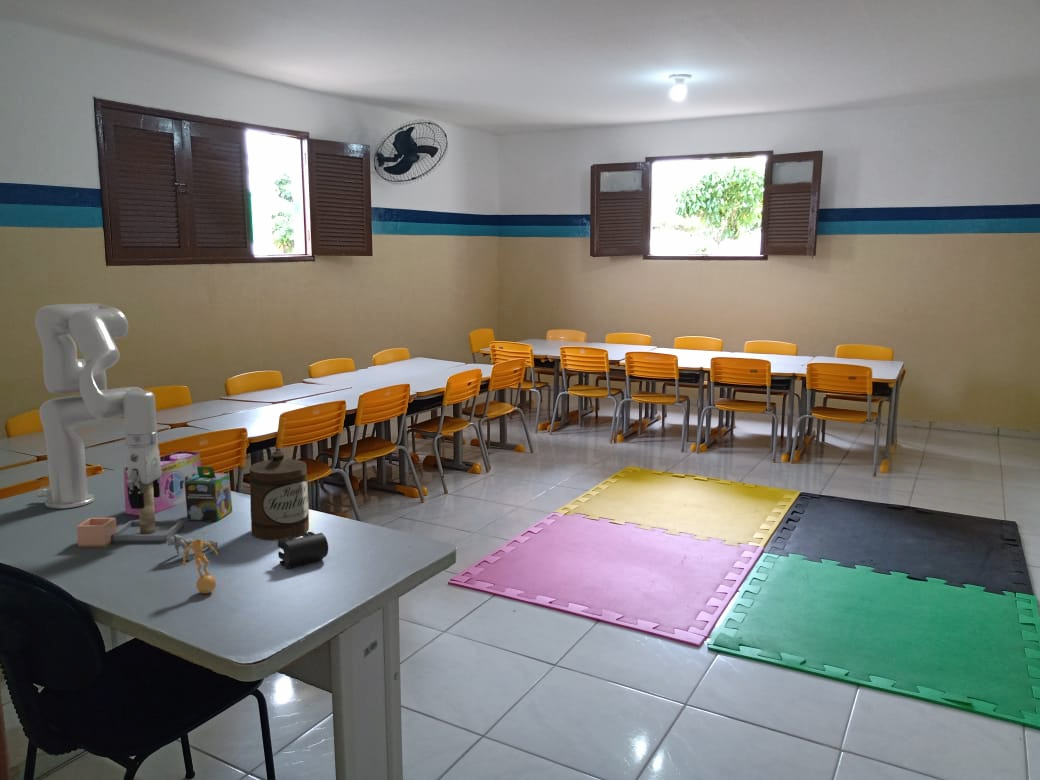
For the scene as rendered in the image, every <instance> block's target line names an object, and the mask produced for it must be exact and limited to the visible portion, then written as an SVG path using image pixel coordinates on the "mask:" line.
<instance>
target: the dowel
mask: <svg viewBox="0 0 1040 780" xmlns="http://www.w3.org/2000/svg"><path fill="white" fill-rule="evenodd" d="M138 482H141V481H138ZM138 488H139V485H138ZM142 493H144V505H145V507H144V508H143V509H139V515H138V516H139V520H140V533H141V534H151V533H154V532H155V520H156V518H155V517H156V516H155V514H156V513H154V493H153V482H151V483H150V484H145V483H144V486H143V490H142Z"/></svg>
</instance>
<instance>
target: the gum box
mask: <svg viewBox="0 0 1040 780" xmlns="http://www.w3.org/2000/svg"><path fill="white" fill-rule="evenodd" d="M160 461H161V471H162V474H161V476H160V477H159V479H160V480H159V488H160V496H159V497H154V514H157V513H160V512H162V511H164V510H167V509H170V508H173V507H175V506H178V505H181V504H184V503H186V494H185V481H187V480H189V479H190V478H191V477H193V476H196V475H198V470H197V467H198V466H202V463H201V452H196V451H187V450H186V451H185V450H180V451H175V452H172V453H168V454H166V455H161V456H160ZM127 480H128V466H125V467H123V483H124V484H123V486H124V507H125V510H124V511H125V514H128V515H133V516H139V509H132V508H131V501H130V494H129V489H128V484H127ZM136 486H137V487H138V485H136Z"/></svg>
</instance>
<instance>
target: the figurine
mask: <svg viewBox="0 0 1040 780" xmlns="http://www.w3.org/2000/svg"><path fill="white" fill-rule="evenodd" d="M203 545H209V547H210V548H211V549H210V550H212V551H213V550H214V551H215V553H216V555H217V556H218V555H219V554H218V552H217V550H215V549H214V548H213V547H212V546H211V544H210V543H207V542H203V541H202V539H201V538H197V539H193V541H192V542H191V544H190V545H189V547H188V548H186V549H185V550H184V551H183V552H182V554H183V555H182V557H183V559H182V560H183V562H182V565H183V567H186V566H187V564H188V563H187V562H186V559H187V556H186V552H187V551H189V552H190V551H191V550H192V552H193V553H194V556H193V561H194V562H195V564H196V565H197V569H196V570H197V572H198V574H199V578H197V580H196V583H195V585H196V589H197V590H198V592H199V593H200V594H209V593H212V592H213V591H214V589H215V588H216V586H217V581H216V579H215V577H214V576H213V575H211V574H210V573H209V572H208V570H207V568H208V566H209V564H210V562H209V560H208V559H207V557H206V553H205V552H203V550H204V549H203ZM214 551H213V552H214ZM202 563H204V565H203V570H204V573H205V574H203V573H202V571H201V568H202Z"/></svg>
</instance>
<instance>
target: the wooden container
mask: <svg viewBox="0 0 1040 780" xmlns="http://www.w3.org/2000/svg"><path fill="white" fill-rule="evenodd" d="M284 457H285V453H284V452H283V451H281V450H275V451H273V452H272V453H271V455H270V458H271V459H268V460H262V461H259V462H256V463H253V464H252V465H250V467H249V484H250V485H249V486H250V487H249V489H250V490H249V491H250V497H249V498H250V520H251V521H250V526H251V527H250V529H251V535H252V536H254V537H255V538H256V539H260V540H267V541H278V540H279V539H282V538H286V537H291V538H293V539H295V538H298V537H299V536H301V534H303V533H307V532H309V529H310V528H309V527H310V517H309V516H310V515H309V514H310V513H309V507H310V506H309V491H308V475H307V474H308V470H307V469H308V468H307V466H308V465H307V463H306V462H305V461H303V460H299V459H294V458H293V459H292V458H291V459H290V458H284Z"/></svg>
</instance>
